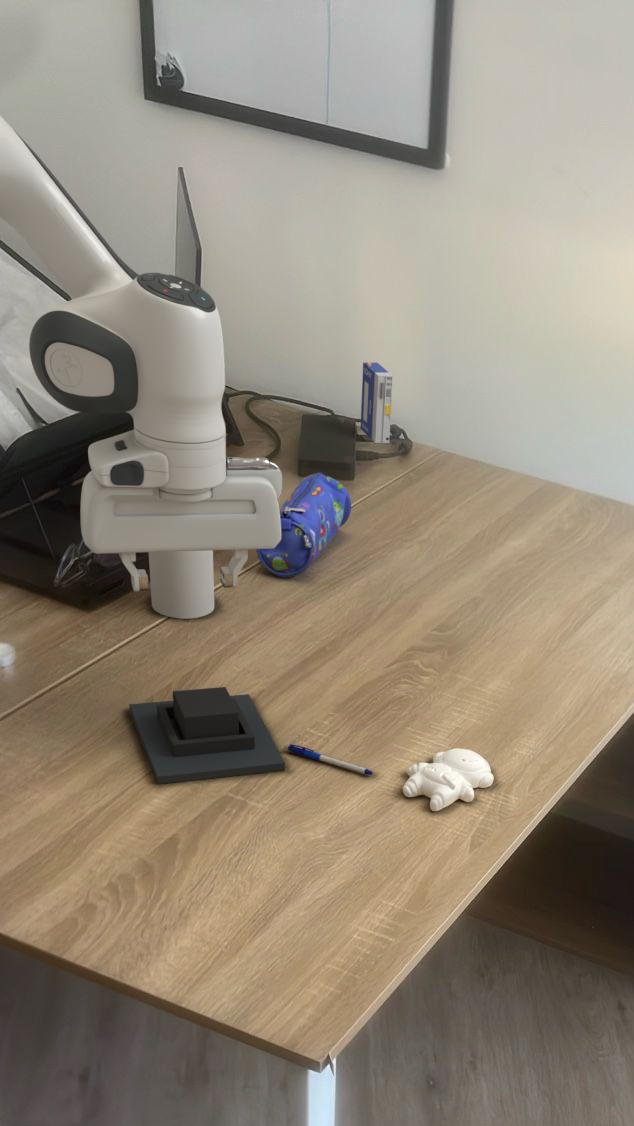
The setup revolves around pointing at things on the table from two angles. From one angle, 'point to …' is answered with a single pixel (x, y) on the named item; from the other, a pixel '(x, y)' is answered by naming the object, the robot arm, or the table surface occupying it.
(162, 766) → the socket base plate
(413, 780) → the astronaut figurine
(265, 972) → the table surface
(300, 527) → the pencil case
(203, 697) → the black box
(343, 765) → the ballpoint pen
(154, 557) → the cup
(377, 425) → the walkman
